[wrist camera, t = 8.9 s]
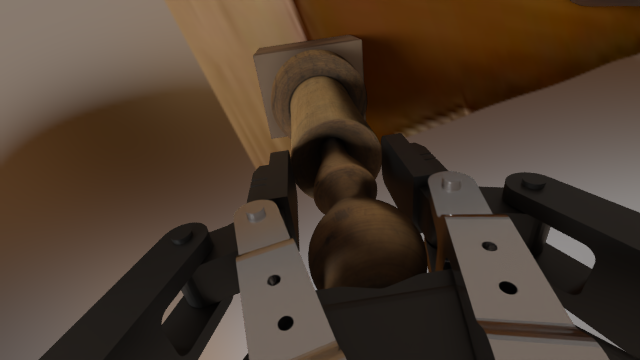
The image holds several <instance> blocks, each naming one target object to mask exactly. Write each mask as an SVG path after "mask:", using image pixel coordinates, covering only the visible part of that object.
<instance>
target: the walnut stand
mask: <svg viewBox="0 0 640 360" xmlns="http://www.w3.org/2000/svg"><path fill="white" fill-rule="evenodd" d="M316 49H319V50H327V51H331V52H334V53H336V54H338V55H340V56H342V57H343V58H345V59H346V60H347V61H348V62H349V63H350V64H351V65H352V66H353V67H354V68H355V69H356V70H357V72H358V73H359V75H360V76H361V78H362V80H363V82H364V75H363V56H362V40H361V39H359V38H356V37H354V36H351V35H345V36H338V37H331V38H325V39H318V40H311V41H305V42H298V43H291V44H285V45H278V46H271V47H264V48H259V49H258V50H257V52H256V53H255V54H254V55H253V58H254V62H255V67H256V71H257V76H258V80H259V85H260V89H261V94H262V98H263V103H264V107H265V111H266V116H267V120H268V125H269V129H270V134H271V138H272V139H273V138H280V137H286V136H287V135H285V134H284V133H283V131H282V130H281V129H280V128H279V126H278V125H277V123H276V121H275V119H274V116H273V113H272V108H271V92H272V85H273V82H274V79H275V76H276V74H277V73H278V71H279V69H280V68H281V67H282V65H283V64H284V63H285V62H286V61H288V60H289V59H290V58H291V57H293V56H295V55H297V54H299V53H301V52H304V51H308V50H316ZM364 120H365V121H366V114H365V116H364Z"/></svg>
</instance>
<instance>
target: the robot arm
mask: <svg viewBox="0 0 640 360" xmlns="http://www.w3.org/2000/svg"><path fill="white" fill-rule="evenodd" d="M570 1H572V2H574V3H576V4H578V5H582V6H640V0H570ZM381 153H382V175H383V180H384V183H385V185H386V187H387V189H388V191H389V193H390V195H391V197H392V198H393V200H394V202H395V204H396V206H397V208H398V209H399V210H401V211H402V212H403V213H405V214H406V215H407V216H408V217H409V218H410V219H411V220H412V222H413V223H414V224H415V226H416V227H417V229H418V230H419V232H420V233H423V234H424V244H425V247H426V252H427V263H428V272H429V273H422V274H418V275H416V276H413V277H411V278H408V279H406V280H403V281H401V282H399V283H396V284H394V285H391V286H389V287H386V288H382V289H375V288H357V287H334V288H327V289H321V290H315V289H314V287H313V285H312V282H311V280H310V277H309V275H308V272H307V270H306V268H305V265H304V263H303V261H302V258H301V256H300V253H299V228H298V204H297V203H298V201H297V190H296V184H295V179H294V174H293V169H292V164H291V158H290V154H289V150H286V151H280V152H273V153H271V154H270V161H269V165H265V166H260V167H259V168H258V169H257V170H256V171H255V172H254V173H253V177H252V182H251V187H250V190H249V195H248V199H247V203H246V204H245V205H243V206H241V207H240V208H239V209H238V210H237V211H236V212H235V214H234V217H233V220H234V222H233V223H232V224H230V225H228V226H225V227H223V228H220V229H217V230H215V231H212V232H208V229H207V227H206V226H205V225H204V224H202V223H188V224H184V225H181V226H178V227H176V228H174V229H173V230H171V231H169V232H168V233H167V234H165V235H164V236H163V237H162V238H161V239H160V240H159V241H158V242H157V243H156V244H155V245H154V246H153V247H152V248H151V249H150V250H149V251H148V252H147V253H146V254H145V255H144V256H143V257H142V258H141V259H140V260H139V261H138V262H137V263H136V264H135V265H134V266H133V267H132V268H131V269H130V270H129V271H128V272H127V273H126V274H125V275H124V276H123V277H122V278H121V279H120V280H119V281H118V282H117V283H116V284H115V285H114V286H113V287H112V288H111V289H110V290H109V291H108V292H107V293H106V294H105V295H104V296H103V297H102V298H101V299H100V300H98V301H97V302H96V304H94V306H92V307H91V308H90V309H89V310H88V311H87V313H85V314H84V315H83V316H82V317H81V318H80V319H79V320H78V321H77V322H76V323H75V324H74V325H73V326H72V327H71V328H70V329H69V330H68V331H67V332H66V333H65V334H64V335H63V336H62V337H61V338H60V339H59V340H58V341H57V342H56V343H55V344H54V345H53V346H52V347H51V348H50V349H49V350H48V351H47V352H46V353H45V354H44V355H43V356H42V357H41V358H40V359H39V360H198V358H199V357H200V355H201V353H202V352H203V350H204V348H205V347H206V345H207V343H208V341H209V340H210V338H211V336H212V334H213V333H214V331H215V329H216V328H217V326H218V324H219V322H220V321H221V319H222V317H223V315H224V314H225V312H226V310H227V309H228V307H229V305H230V303H231V301H232V299H233V295H235V294H238V293H240V295H241V302H242V310H243V317H244V325H245V332H246V339H247V347H248V354H247V355H246V356H245V358H244V359H243V360H640V213H639V212H636V211H634V210H631V209H629V208H626V207H623V206H621V205H619V204H616V203H614V202H611V201H608V200H606V199H603V198H601V197H598V196H596V195H593V194H591V193H588V192H585V191H583V190H581V189H578V188H575V187H573V186H570V185H568V184H565V183H563V182H560V181H558V180H555V179H552V178H550V177H547V176H545V175H540V174H536V173H525V172H524V173H515V174H511V175H509V176H508V177H507V178H506V180H505V185H504V188H500V187H499V188H498V187H478V185H477V183H476V182H475V180H474V179H473V178H471V177H470V176H468V175H466V174H463V173H460V172H454V171H448V170H447V169H446V168H445V167H444V166H443V165H442V164H441V163H440V162H439V161H438V160H437V159H436V158H435V157H434V156H433V155H432V154H431V153H430V152H429V150H427V148H426V147H424V146H422V145H419V144H417V143H409V142H408V141H407V139H406V138H405V137H404V136H403V135H402V134H401V133H398V134H392V135H385V136H382V139H381ZM550 227H553V228H554V229H556V230H558V231H560V232H562V233H564V234H566V235H568V236H570V237H572V238H574V239H575V240H577V241H579V242H581V243H583V244H585V245H586V246H588V247H589V248H590V249H591V250H592V252H593V253H594V255H595V259H596V260H595V261H596V262H595V264H594V267H593V269H591V268H589V267H588V266H586V265H584V264H582V263H580V262H579V261H577V260H575V259H574V258H572V257H570V256H568V255H567V254H565V253H563V252H561V251H560V250H558V249H556V248H554V247H552V246H551V245H549V244H547V243H546V239H547V236H548V233H549V230H550ZM180 290H181V291H182V293H183V294H184V296H183V298H182V299H181V300H180V301H179V303H178V304H177V306H176V307H175V308H174V309H173V311H172V312H171V314H170V315H169V316H168V318H167V319H166V320H165V322H164V323H163V324H162V325H161V322H162V317H163V314H164V312H165V310H166V309H167V307H168V306H169V305H170V303H171V302H172V301H173V300H174V298H175V297H176V296H177V294H178V293H179V291H180ZM563 307H564V308H565V309H567V310H568V311H569V312H571V313H572V314H574V315H575V316H576V317H578V318H579V319H581V320H582V321H584V322H585V323H586V324H588V325H589V326H590V327H592V328H593V329H595V330H596V331H598V332H599V333H600V334H602V335H603V336H605V337H606V338H608V339H609V340H610V341H612V342H613V343H614V344H616V345H617V346H619V347H620V348H622V349H623V350H624V351H623V350H621V349H620V348H617V347H616V346H614V345H612V344H610V343H608V342H606V341H604V340H602V339H600V338H598V337H597V336H595V335H592V334H591V333H589V332H587V331H585V330H583V329H581V328H579V327H577V326H576V325H574V324H573V322H572V321H571V319H570V318H569V316H568V314H567V313H566V311H565V309H564V308H563ZM625 351H626V352H625Z"/></svg>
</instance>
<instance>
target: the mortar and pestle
mask: <svg viewBox="0 0 640 360" xmlns="http://www.w3.org/2000/svg"><path fill="white" fill-rule="evenodd" d="M271 108H272V113H273V116H274V119H275V121H276V123H277V125H278V126H279V128H280V129H281V130H282V131H283V133H284V134H285V135H287V136H288V137H289V138H290V139H291V164H292V169H293V174H294V179H295V183H296V184H297V185H298V187H299V188H300V189H301V190H302V191H303V192H304V193H305V194H307V195H308V196H310V197H311V198H314V201H315V203H316V206H317V207H318V209H319V210H320V211H321V212H322V213H323V214H325V216H324V217H323V218H322V220H321V221H320V222H319V223H318V225H317V227H316V228H315V230H314V233H313V235H312V238H311V241H310V245H309V252H308V261H309V268H310V273H311V276H312V279H313V282H314V284H315V286H316V288H317V290H321V289H327V288H334V287H357V288H375V289H382V288H386V287H389V286H391V285H394V284H396V283H399V282H401V281H403V280H406V279H408V278H411V277H413V276H416V275H418V274H422V273H427V266H428V263H427V252H426V247H425V244H424V241H423V239H422V236H421V234H420V232H419V230H418V229H417V227H416V226H415V224H414V223H413V222H412V220H411V219H410V218H409V217H408V216H407V215H406V214H405V213H403V212H402V211H401V210H399V209H398V208H396V207H394V206H392V205H390V204H388V203H385V202H383V201H380V200H376V196H377V184H376V181H375V179H376V177H377V175H378V173H379V171H380V168H381V165H382V153H381V145H380V142H379V140H378V138H377V137H376V135H375V134H374V132H373V131H372V130H371V128H370V127H369V125H368V124H367V123H366V121H365V120H364V116H365V112H366V108H367V94H366V88H365V85H364V82H363V80H362V78H361V76H360V75H359V73H358V72H357V70H356V69H355V68H354V67H353V66H352V65H351V64H350V63H349V62H348V61H347V60H346V59H345V58H343V57H342V56H340V55H338V54H336V53H334V52H331V51H327V50H319V49H316V50H308V51H304V52H301V53H299V54H297V55H295V56H293V57H291V58H290V59H289V60H288V61H286V62H285V63H284V64H283V65H282V67H281V68H280V69H279V71H278V73H277V74H276V76H275V79H274V82H273V85H272V92H271Z"/></svg>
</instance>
